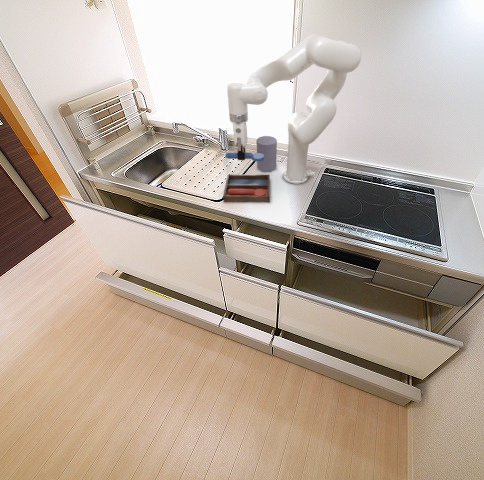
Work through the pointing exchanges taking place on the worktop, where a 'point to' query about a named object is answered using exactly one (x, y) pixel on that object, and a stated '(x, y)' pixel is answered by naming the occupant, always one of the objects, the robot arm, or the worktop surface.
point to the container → (267, 153)
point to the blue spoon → (246, 156)
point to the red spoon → (246, 192)
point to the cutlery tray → (247, 187)
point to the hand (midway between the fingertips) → (241, 157)
